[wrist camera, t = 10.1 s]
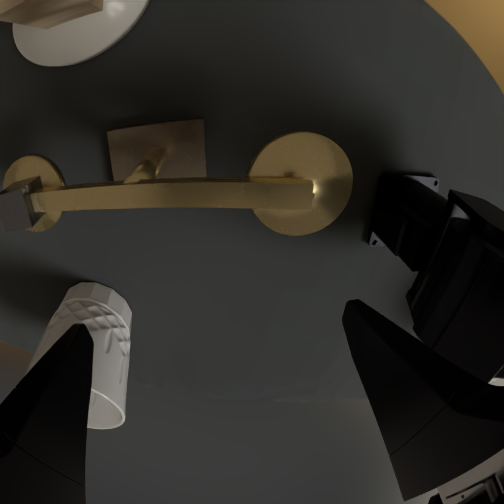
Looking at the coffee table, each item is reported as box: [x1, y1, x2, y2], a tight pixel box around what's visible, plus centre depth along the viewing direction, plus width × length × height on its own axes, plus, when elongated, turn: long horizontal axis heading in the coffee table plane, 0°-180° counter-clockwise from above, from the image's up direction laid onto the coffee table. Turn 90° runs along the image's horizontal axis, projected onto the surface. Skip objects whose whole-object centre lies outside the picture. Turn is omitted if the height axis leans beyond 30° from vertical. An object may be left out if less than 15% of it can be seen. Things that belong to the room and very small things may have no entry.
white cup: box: [25, 282, 132, 429], centre depth 19 cm, size 8×8×10 cm
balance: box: [0, 118, 353, 236], centre depth 13 cm, size 18×4×9 cm, turn 90°
